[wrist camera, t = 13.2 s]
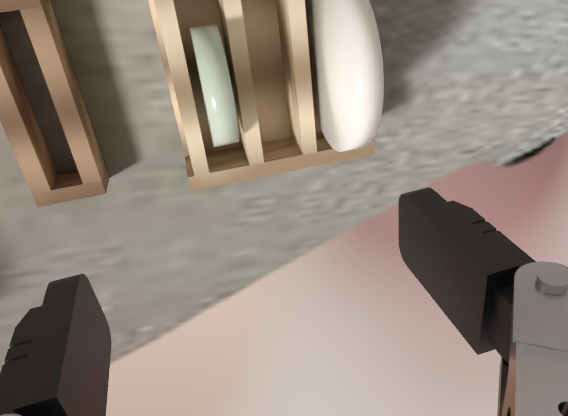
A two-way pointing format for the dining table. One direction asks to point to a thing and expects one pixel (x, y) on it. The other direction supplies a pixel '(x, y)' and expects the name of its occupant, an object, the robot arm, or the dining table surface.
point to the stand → (69, 105)
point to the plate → (345, 71)
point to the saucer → (215, 84)
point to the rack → (246, 89)
